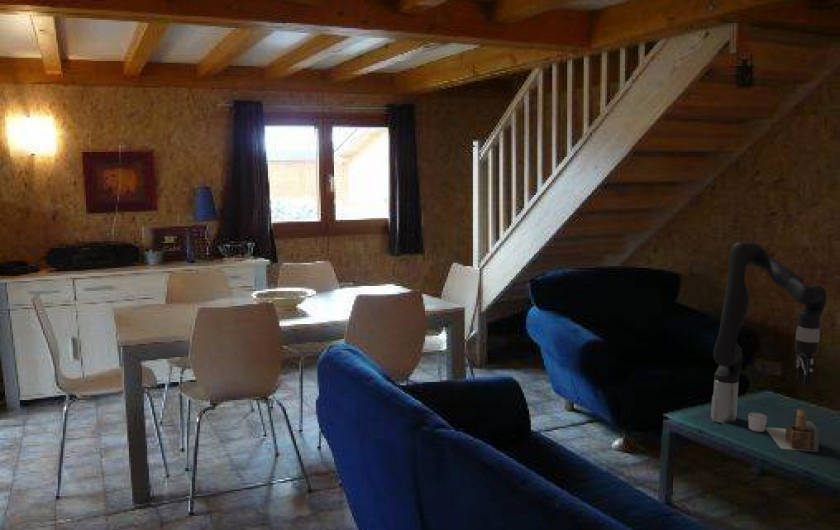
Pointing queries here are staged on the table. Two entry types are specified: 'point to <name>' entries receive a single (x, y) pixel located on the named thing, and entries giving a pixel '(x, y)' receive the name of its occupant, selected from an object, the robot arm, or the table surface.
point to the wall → (816, 434)
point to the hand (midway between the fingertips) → (803, 381)
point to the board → (782, 438)
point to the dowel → (801, 420)
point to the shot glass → (757, 421)
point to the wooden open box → (799, 437)
